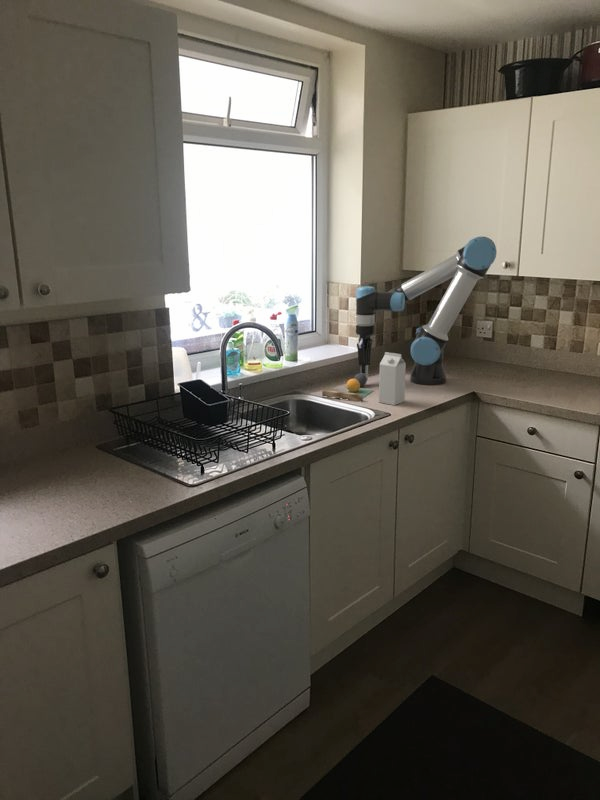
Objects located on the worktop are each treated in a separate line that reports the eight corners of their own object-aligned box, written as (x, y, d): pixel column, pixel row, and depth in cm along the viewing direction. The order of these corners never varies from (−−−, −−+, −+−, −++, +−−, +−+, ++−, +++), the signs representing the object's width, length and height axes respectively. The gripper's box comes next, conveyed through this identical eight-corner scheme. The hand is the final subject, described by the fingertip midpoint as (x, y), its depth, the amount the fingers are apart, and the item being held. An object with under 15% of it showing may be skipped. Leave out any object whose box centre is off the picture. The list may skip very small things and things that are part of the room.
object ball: (362, 377, 265) (357, 381, 260) (361, 390, 266) (357, 394, 262) (349, 376, 267) (344, 380, 262) (348, 389, 268) (344, 393, 264)
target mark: (373, 390, 266) (373, 390, 266) (361, 399, 254) (361, 398, 254) (341, 387, 272) (341, 387, 272) (328, 395, 260) (328, 395, 260)
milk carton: (388, 398, 255) (389, 350, 250) (404, 401, 250) (406, 352, 245) (378, 402, 249) (379, 353, 244) (394, 405, 245) (396, 355, 240)
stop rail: (362, 400, 253) (362, 394, 252) (360, 401, 251) (360, 395, 250) (324, 396, 259) (324, 390, 258) (322, 397, 257) (322, 391, 257)
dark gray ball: (365, 372, 270) (362, 384, 269) (370, 377, 275) (366, 389, 273) (353, 370, 273) (350, 382, 271) (358, 375, 277) (354, 387, 276)
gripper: (361, 321, 277) (361, 376, 283) (350, 326, 266) (350, 382, 272) (378, 322, 274) (377, 377, 280) (368, 327, 263) (367, 384, 269)
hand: (364, 380), depth 276 cm, fingers closed
